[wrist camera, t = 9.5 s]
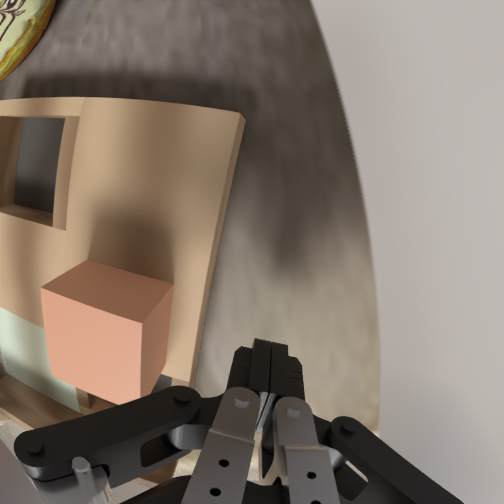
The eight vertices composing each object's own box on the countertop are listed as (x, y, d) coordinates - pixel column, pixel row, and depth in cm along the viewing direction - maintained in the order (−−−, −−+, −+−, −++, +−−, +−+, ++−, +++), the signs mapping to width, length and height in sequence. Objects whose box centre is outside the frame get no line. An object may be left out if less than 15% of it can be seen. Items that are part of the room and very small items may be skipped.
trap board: (24, 366, 21) (-13, 403, 15) (20, 103, 15) (-44, 97, 9) (186, 433, 21) (167, 492, 15) (245, 121, 15) (227, 95, 9)
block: (88, 338, 16) (52, 375, 12) (87, 259, 15) (40, 287, 11) (165, 364, 16) (140, 412, 12) (174, 283, 15) (142, 323, 11)
